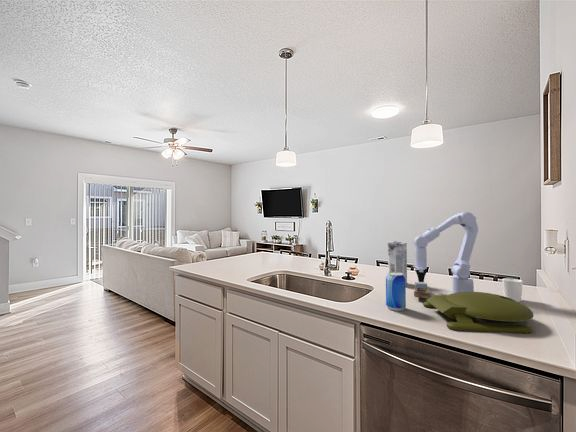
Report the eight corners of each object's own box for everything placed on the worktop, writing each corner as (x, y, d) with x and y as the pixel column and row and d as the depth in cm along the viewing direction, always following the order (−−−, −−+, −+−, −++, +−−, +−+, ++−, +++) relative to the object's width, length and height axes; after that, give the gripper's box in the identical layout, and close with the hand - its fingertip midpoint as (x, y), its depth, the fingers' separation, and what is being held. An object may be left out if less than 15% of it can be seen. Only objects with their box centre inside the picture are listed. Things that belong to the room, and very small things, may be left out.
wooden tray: (428, 291, 155) (427, 283, 155) (429, 302, 136) (429, 292, 136) (414, 290, 158) (414, 282, 158) (414, 300, 138) (413, 291, 138)
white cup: (519, 298, 140) (519, 279, 140) (525, 303, 133) (524, 282, 133) (500, 297, 144) (500, 277, 144) (504, 301, 137) (504, 280, 137)
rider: (426, 289, 147) (426, 282, 147) (427, 290, 144) (426, 284, 144) (415, 288, 149) (415, 281, 149) (415, 289, 146) (415, 283, 146)
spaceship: (450, 332, 102) (449, 305, 102) (421, 305, 133) (421, 284, 133) (556, 336, 98) (556, 308, 98) (501, 308, 128) (501, 286, 128)
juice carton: (409, 283, 173) (408, 240, 173) (398, 286, 167) (398, 241, 167) (396, 281, 180) (396, 239, 180) (386, 283, 174) (385, 240, 175)
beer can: (396, 312, 122) (396, 276, 122) (382, 307, 129) (381, 272, 129) (409, 309, 126) (409, 274, 126) (394, 304, 133) (394, 271, 133)
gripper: (412, 256, 161) (413, 279, 161) (412, 259, 148) (413, 285, 148) (426, 256, 158) (426, 280, 158) (427, 260, 145) (427, 286, 145)
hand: (421, 283), depth 153 cm, fingers closed
